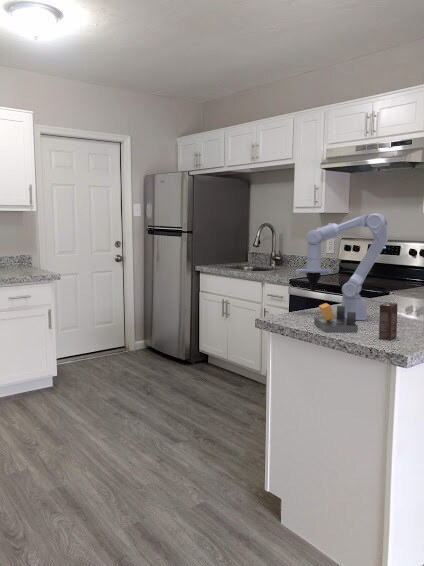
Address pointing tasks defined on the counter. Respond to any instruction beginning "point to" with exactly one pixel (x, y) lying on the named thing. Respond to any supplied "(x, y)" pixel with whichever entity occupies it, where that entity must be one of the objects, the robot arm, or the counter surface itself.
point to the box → (388, 321)
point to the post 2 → (351, 318)
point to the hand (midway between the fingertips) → (312, 290)
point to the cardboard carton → (326, 312)
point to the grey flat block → (334, 325)
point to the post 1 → (341, 312)
